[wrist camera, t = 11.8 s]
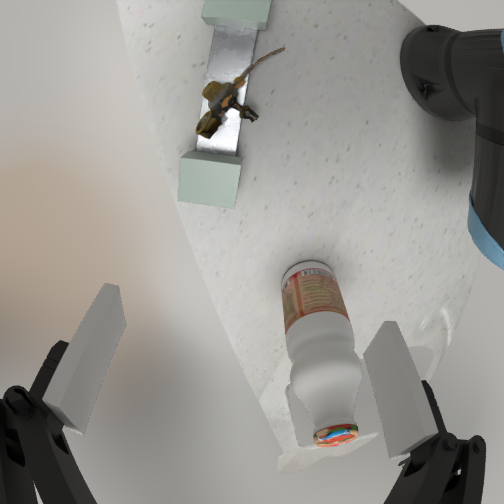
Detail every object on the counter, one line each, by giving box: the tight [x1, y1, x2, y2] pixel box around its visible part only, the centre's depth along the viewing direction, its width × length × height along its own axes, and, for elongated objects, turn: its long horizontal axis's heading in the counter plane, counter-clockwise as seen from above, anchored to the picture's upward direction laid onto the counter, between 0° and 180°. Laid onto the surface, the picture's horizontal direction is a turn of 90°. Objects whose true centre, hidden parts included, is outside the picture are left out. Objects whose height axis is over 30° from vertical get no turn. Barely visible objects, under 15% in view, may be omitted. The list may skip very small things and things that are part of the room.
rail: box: [196, 25, 258, 157], centre depth 31 cm, size 5×28×2 cm, turn 171°
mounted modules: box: [178, 0, 272, 209], centre depth 28 cm, size 7×28×4 cm, turn 171°
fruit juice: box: [281, 261, 363, 447], centre depth 36 cm, size 9×9×28 cm
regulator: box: [196, 48, 285, 139], centre depth 29 cm, size 8×4×15 cm
